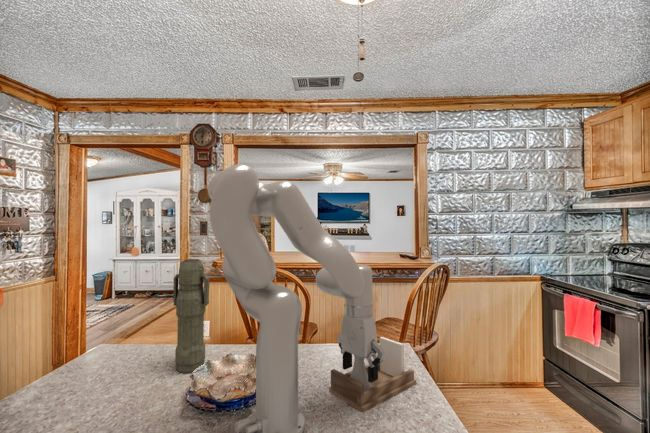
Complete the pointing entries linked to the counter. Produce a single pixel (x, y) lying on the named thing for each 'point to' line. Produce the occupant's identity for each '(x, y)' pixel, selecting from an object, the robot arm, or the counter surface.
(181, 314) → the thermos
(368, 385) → the flask
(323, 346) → the counter surface
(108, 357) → the counter surface
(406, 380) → the wooden crate tray
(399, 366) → the rectangular block
